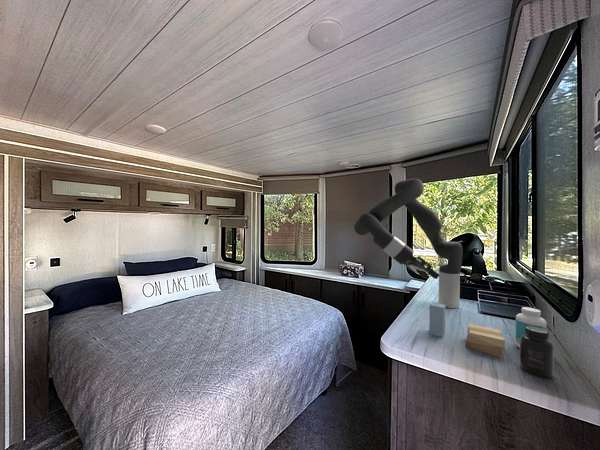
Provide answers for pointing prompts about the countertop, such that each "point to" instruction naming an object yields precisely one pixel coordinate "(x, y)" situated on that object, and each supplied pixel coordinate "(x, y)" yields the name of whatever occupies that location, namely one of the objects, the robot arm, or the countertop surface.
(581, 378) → the countertop surface
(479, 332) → the tower top
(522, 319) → the pill bottle
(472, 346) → the tower base
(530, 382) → the countertop surface
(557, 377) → the countertop surface
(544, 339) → the supplement bottle
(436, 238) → the robot arm
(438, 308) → the pillar
